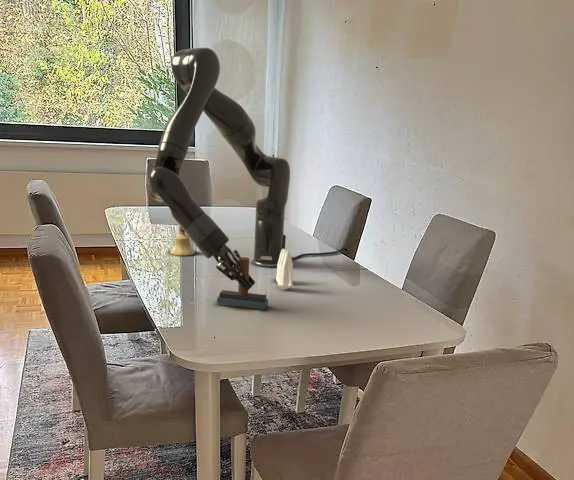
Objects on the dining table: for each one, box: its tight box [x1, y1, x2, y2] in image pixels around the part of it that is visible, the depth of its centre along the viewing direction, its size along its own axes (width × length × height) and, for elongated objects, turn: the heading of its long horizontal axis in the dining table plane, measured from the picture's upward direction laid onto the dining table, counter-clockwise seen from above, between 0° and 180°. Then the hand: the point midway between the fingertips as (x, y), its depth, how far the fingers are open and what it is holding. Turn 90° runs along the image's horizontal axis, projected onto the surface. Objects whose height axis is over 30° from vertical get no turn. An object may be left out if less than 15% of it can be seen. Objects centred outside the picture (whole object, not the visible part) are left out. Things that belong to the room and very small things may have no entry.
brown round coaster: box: [228, 306, 253, 311], centre depth 170 cm, size 10×10×1 cm
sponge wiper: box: [216, 256, 269, 311], centre depth 165 cm, size 4×13×13 cm, turn 79°
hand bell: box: [169, 225, 196, 257], centre depth 210 cm, size 8×8×16 cm
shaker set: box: [275, 248, 294, 290], centre depth 184 cm, size 12×4×11 cm, turn 4°
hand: (251, 286), depth 165 cm, fingers closed on sponge wiper, 2 cm apart
